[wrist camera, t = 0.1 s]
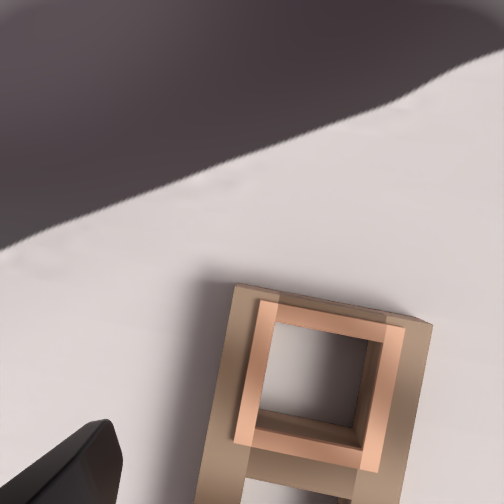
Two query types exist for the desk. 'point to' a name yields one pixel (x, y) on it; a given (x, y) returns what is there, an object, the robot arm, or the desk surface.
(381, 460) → the walnut hole board
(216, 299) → the desk surface
